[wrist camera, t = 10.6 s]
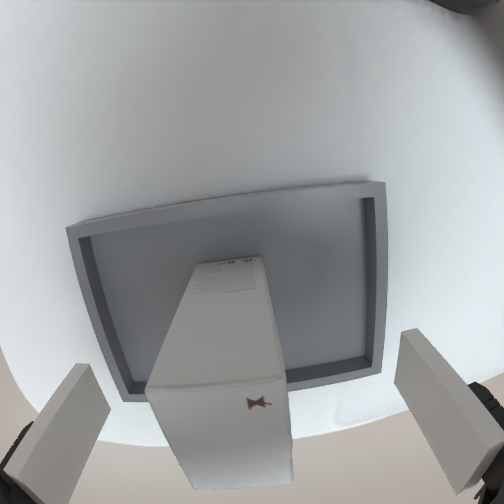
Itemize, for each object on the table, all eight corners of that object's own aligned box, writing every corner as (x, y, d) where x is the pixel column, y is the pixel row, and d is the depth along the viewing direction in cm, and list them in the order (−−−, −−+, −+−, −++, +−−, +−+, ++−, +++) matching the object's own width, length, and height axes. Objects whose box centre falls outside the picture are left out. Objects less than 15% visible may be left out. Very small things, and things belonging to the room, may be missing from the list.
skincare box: (194, 262, 19) (138, 385, 8) (262, 253, 19) (291, 373, 8) (211, 345, 21) (190, 492, 9) (272, 338, 21) (298, 485, 9)
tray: (370, 180, 19) (385, 182, 17) (370, 357, 22) (380, 372, 20) (81, 221, 19) (65, 227, 17) (130, 385, 22) (123, 401, 20)
